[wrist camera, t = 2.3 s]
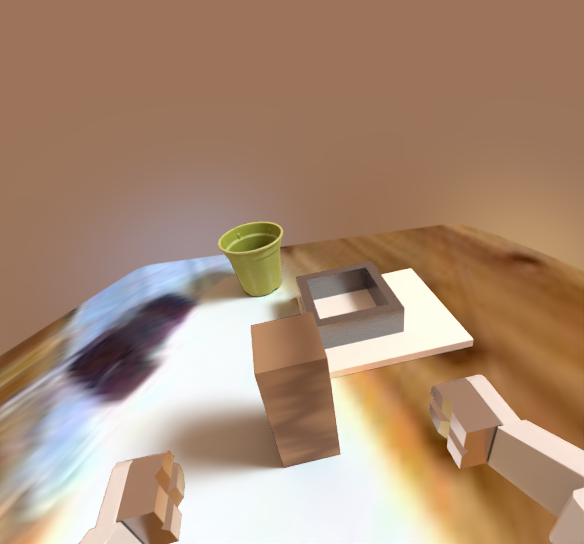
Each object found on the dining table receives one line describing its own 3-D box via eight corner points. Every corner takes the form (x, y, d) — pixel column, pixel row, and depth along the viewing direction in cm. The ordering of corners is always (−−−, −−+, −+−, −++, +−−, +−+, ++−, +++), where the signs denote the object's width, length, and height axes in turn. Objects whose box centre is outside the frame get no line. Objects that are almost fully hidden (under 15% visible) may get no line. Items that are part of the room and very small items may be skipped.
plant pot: (229, 308, 49) (212, 257, 45) (236, 273, 57) (222, 226, 52) (292, 299, 49) (283, 246, 44) (290, 265, 57) (282, 217, 52)
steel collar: (315, 351, 38) (311, 328, 36) (299, 297, 47) (295, 277, 45) (403, 331, 39) (404, 307, 37) (371, 282, 48) (371, 261, 46)
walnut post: (283, 467, 29) (254, 374, 23) (277, 416, 33) (250, 325, 27) (340, 454, 29) (327, 357, 23) (326, 405, 34) (312, 311, 27)
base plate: (319, 380, 36) (318, 374, 35) (296, 298, 49) (295, 293, 48) (472, 346, 37) (473, 339, 36) (410, 273, 49) (410, 268, 49)
